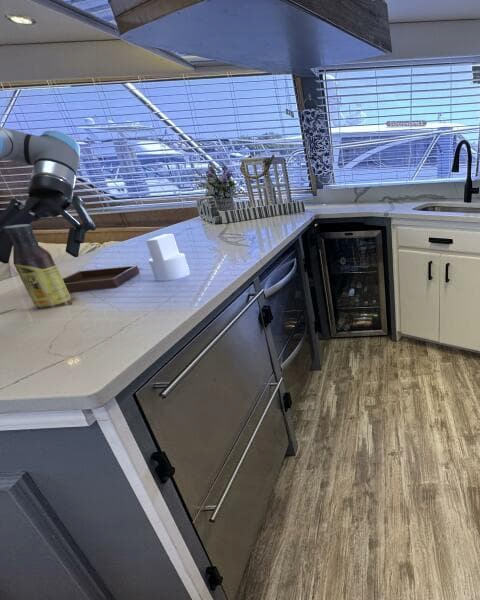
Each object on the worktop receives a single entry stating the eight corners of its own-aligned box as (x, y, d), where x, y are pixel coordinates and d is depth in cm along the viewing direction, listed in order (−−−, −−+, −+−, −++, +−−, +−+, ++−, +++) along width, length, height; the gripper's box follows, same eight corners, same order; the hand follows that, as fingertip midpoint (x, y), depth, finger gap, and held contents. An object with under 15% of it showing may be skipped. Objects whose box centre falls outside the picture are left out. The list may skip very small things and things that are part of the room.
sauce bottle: (33, 311, 76) (-13, 227, 68) (66, 301, 82) (26, 222, 74) (47, 315, 74) (1, 228, 66) (80, 304, 79) (41, 223, 71)
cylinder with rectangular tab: (165, 272, 102) (152, 234, 97) (195, 270, 102) (184, 232, 98) (148, 282, 93) (133, 241, 89) (181, 279, 94) (167, 239, 89)
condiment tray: (50, 294, 87) (45, 286, 86) (82, 278, 99) (78, 271, 98) (116, 287, 90) (113, 279, 89) (139, 273, 102) (137, 265, 101)
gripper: (118, 192, 88) (110, 259, 80) (6, 198, 82) (-14, 271, 75) (99, 171, 81) (88, 243, 73) (-25, 176, 75) (-51, 254, 68)
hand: (36, 257), depth 74 cm, fingers open, 13 cm apart
